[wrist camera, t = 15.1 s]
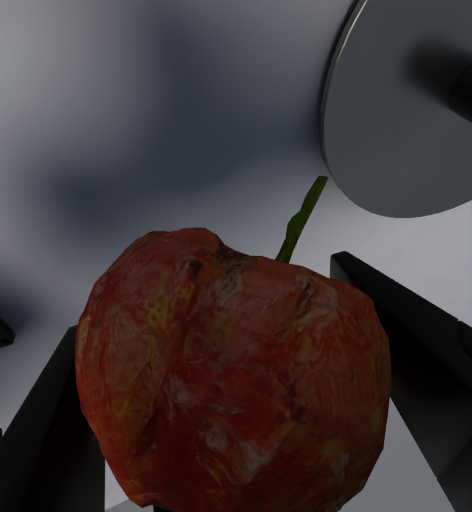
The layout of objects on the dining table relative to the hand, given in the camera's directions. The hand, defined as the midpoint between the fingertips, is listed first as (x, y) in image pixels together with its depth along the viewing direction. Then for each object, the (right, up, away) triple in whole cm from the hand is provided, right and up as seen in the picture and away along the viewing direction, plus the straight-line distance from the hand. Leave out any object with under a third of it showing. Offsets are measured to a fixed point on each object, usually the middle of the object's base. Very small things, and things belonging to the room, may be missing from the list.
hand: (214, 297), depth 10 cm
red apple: (0, +1, +1) cm, 2 cm away
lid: (+12, +10, +8) cm, 18 cm away
